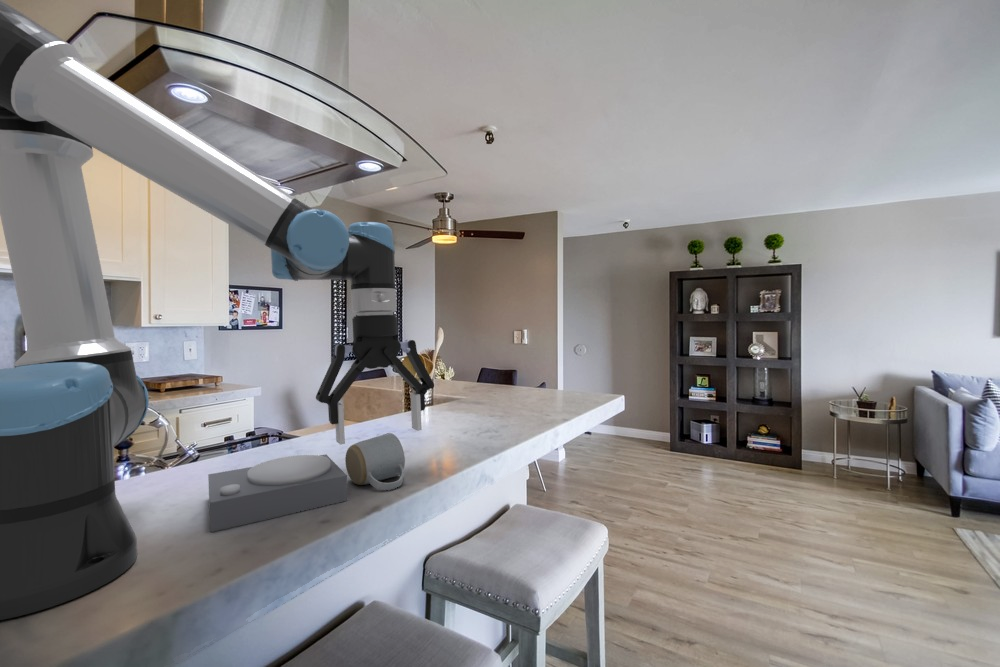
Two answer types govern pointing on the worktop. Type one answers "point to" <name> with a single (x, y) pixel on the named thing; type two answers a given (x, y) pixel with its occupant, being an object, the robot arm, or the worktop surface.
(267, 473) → the grey oval-top base
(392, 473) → the ceramic mug
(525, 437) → the worktop surface
